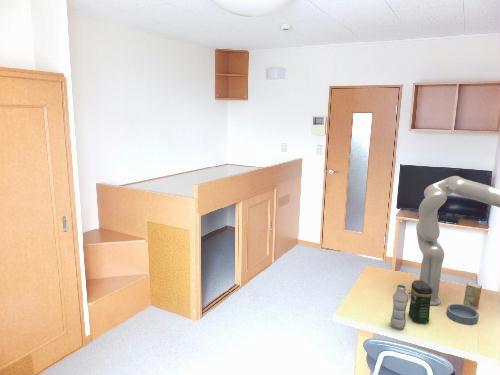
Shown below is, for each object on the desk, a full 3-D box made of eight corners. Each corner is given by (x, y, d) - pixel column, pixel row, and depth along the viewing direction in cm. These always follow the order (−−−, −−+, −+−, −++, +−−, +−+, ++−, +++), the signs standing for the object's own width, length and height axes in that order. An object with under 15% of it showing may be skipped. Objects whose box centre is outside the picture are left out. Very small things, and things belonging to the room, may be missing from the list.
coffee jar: (431, 324, 177) (435, 287, 173) (414, 324, 177) (418, 287, 173) (422, 313, 186) (426, 278, 182) (406, 313, 186) (409, 278, 182)
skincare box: (462, 306, 194) (465, 283, 191) (465, 303, 197) (467, 281, 194) (476, 310, 190) (480, 288, 187) (479, 307, 193) (482, 285, 190)
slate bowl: (451, 323, 178) (452, 316, 178) (443, 309, 191) (444, 302, 190) (481, 326, 176) (482, 319, 175) (471, 311, 188) (472, 305, 188)
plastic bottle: (387, 323, 178) (391, 283, 174) (401, 322, 178) (405, 283, 174) (393, 330, 172) (397, 290, 167) (408, 330, 172) (412, 289, 168)
